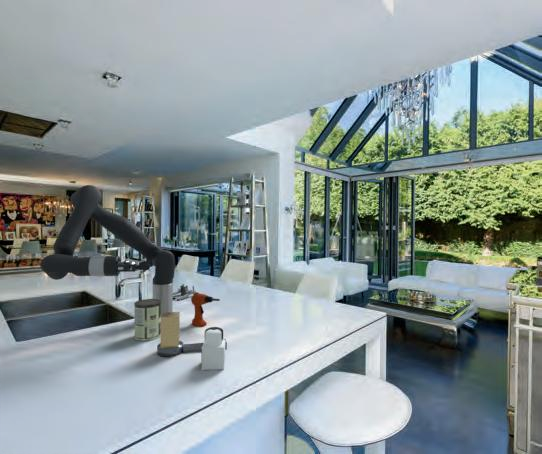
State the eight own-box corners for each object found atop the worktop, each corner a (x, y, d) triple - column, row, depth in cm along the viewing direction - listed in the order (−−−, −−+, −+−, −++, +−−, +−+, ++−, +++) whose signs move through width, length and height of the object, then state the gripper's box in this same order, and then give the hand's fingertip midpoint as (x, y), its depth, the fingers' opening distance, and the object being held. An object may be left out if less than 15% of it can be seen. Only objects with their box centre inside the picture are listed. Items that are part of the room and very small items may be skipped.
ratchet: (155, 358, 106) (155, 336, 106) (158, 347, 115) (158, 327, 115) (227, 352, 112) (227, 331, 112) (225, 342, 120) (225, 323, 120)
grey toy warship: (183, 292, 203) (157, 303, 187) (182, 282, 202) (156, 292, 186) (198, 295, 196) (172, 307, 179) (197, 285, 195) (171, 295, 178)
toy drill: (217, 329, 131) (214, 294, 132) (189, 325, 142) (187, 293, 143) (225, 326, 134) (222, 292, 135) (198, 323, 146) (195, 291, 147)
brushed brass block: (160, 348, 108) (160, 317, 108) (162, 342, 114) (162, 312, 114) (178, 347, 109) (178, 316, 109) (179, 341, 115) (179, 311, 115)
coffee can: (146, 330, 133) (146, 297, 133) (166, 333, 130) (166, 300, 130) (128, 338, 123) (128, 303, 123) (149, 342, 120) (149, 306, 120)
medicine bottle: (204, 360, 105) (204, 325, 105) (225, 360, 105) (225, 324, 105) (201, 370, 98) (201, 332, 98) (223, 369, 98) (224, 332, 98)
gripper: (99, 258, 108) (148, 257, 112) (110, 254, 122) (154, 253, 126) (99, 279, 108) (148, 278, 112) (110, 273, 122) (153, 272, 126)
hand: (151, 265), depth 119 cm, fingers open, 8 cm apart
